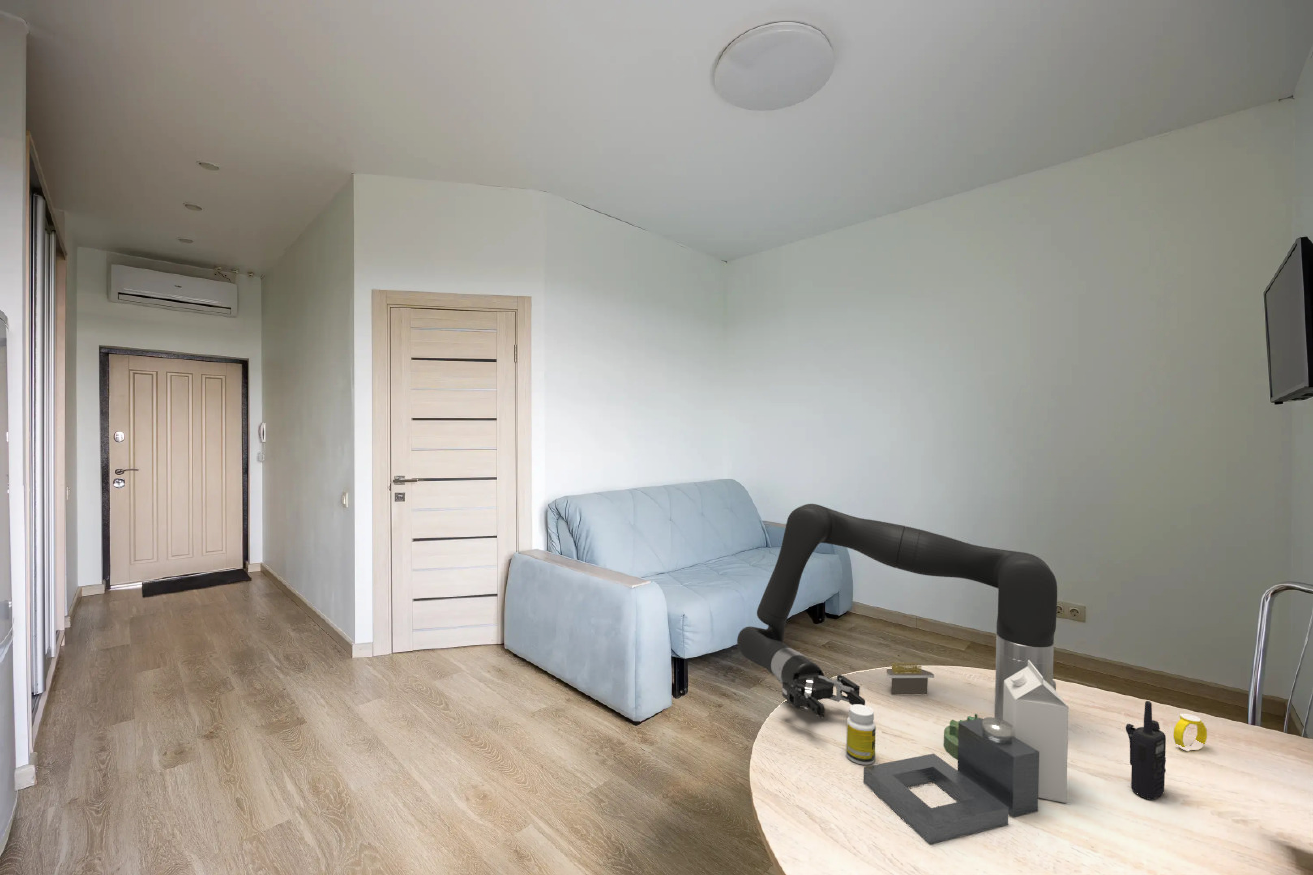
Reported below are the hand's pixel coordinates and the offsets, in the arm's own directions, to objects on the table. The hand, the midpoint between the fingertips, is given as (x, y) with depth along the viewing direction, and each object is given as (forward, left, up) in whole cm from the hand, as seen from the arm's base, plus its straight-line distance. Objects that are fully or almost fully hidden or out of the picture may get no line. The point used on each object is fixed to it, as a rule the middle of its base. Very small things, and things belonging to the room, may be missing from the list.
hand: (843, 709), depth 101 cm
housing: (-6, +18, -6) cm, 20 cm away
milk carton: (-22, +19, -6) cm, 30 cm away
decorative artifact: (-21, +9, -6) cm, 24 cm away
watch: (-60, +19, -6) cm, 63 cm away
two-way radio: (-38, +25, -6) cm, 46 cm away
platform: (-26, -13, -7) cm, 29 cm away
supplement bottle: (0, +5, -6) cm, 8 cm away
